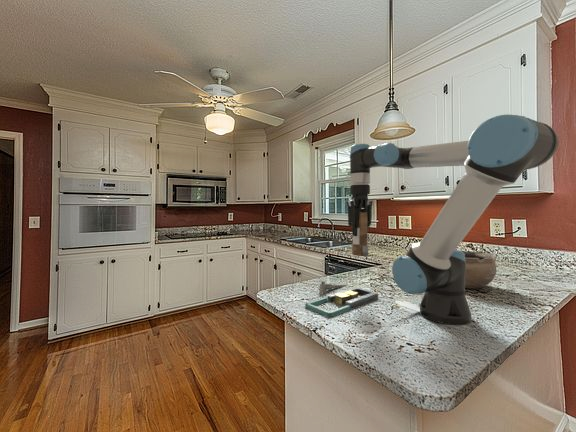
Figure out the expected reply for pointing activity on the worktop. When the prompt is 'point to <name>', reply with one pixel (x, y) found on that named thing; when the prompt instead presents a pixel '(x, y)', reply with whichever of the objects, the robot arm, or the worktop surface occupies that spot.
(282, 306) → the worktop surface
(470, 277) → the ceramic bowl
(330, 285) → the caliper
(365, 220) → the brown long block
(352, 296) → the chip
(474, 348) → the worktop surface
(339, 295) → the tan block
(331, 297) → the grey shallow bin
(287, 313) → the worktop surface
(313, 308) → the tray
